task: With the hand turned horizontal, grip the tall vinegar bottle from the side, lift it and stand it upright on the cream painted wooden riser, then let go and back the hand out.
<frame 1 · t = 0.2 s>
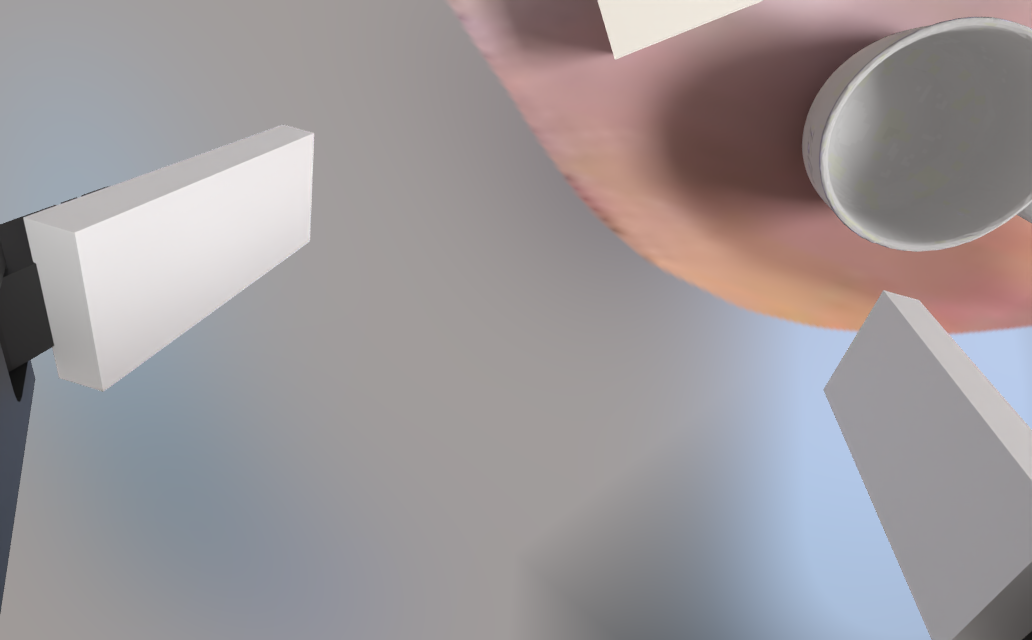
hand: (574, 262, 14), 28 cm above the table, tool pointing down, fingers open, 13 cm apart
teacup: (905, 136, 36), on the table
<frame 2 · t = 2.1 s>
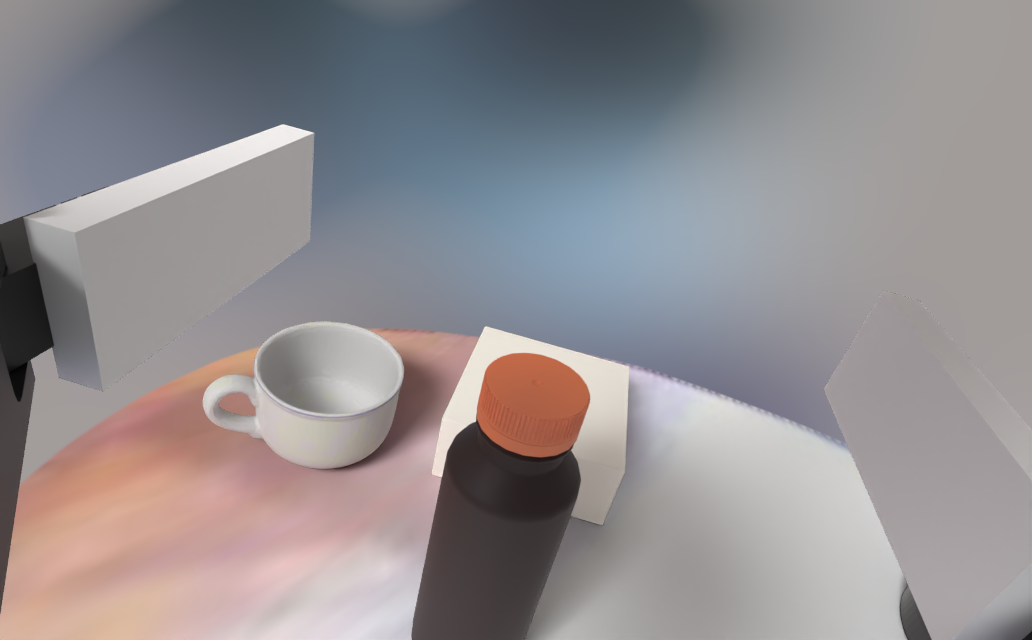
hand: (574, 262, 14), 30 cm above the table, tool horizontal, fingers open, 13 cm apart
teacup: (306, 443, 48), on the table
riser: (530, 441, 53), on the table
vinegar: (465, 638, 37), on the table
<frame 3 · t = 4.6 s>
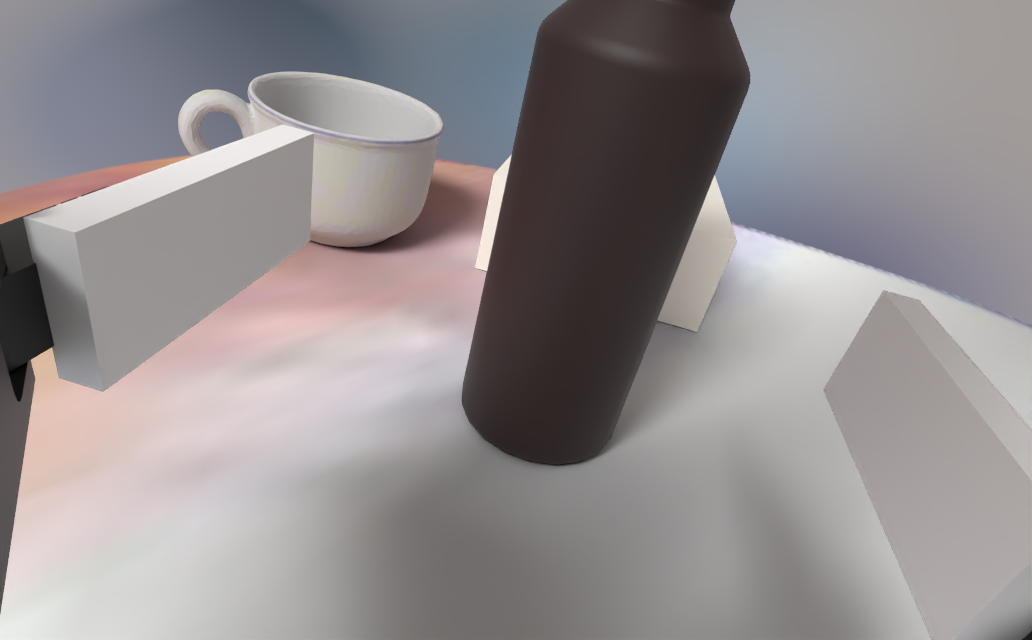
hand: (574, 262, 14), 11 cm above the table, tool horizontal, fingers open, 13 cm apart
teacup: (314, 228, 37), on the table
riser: (594, 256, 42), on the table
vinegar: (535, 415, 26), on the table
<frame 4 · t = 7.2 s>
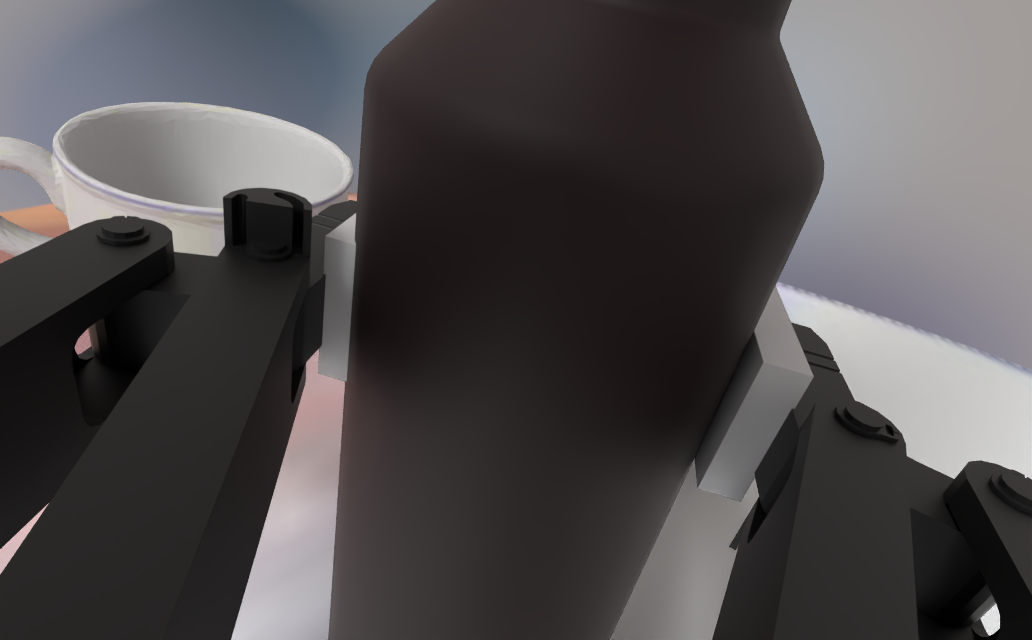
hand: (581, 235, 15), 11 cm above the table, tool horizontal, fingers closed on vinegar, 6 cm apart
teacup: (185, 313, 28), on the table
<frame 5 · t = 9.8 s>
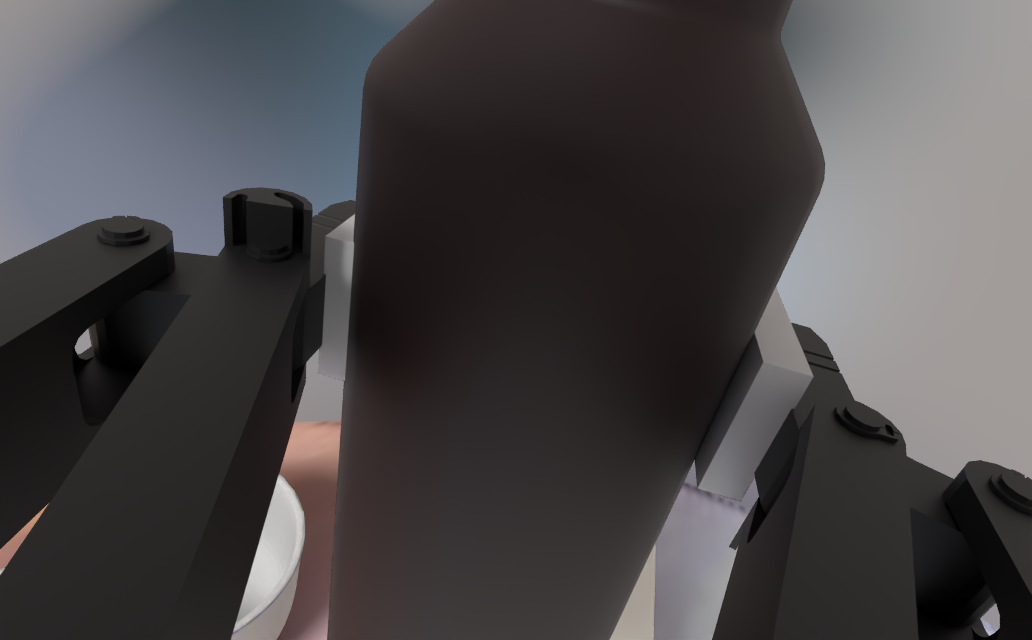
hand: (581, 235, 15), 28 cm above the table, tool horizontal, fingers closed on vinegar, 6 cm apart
teacup: (158, 639, 31), on the table
riser: (508, 622, 36), on the table
when the fingers open (18 cm above the table, at t = 12.7 s): vinegar drops 1 cm, resting on riser.
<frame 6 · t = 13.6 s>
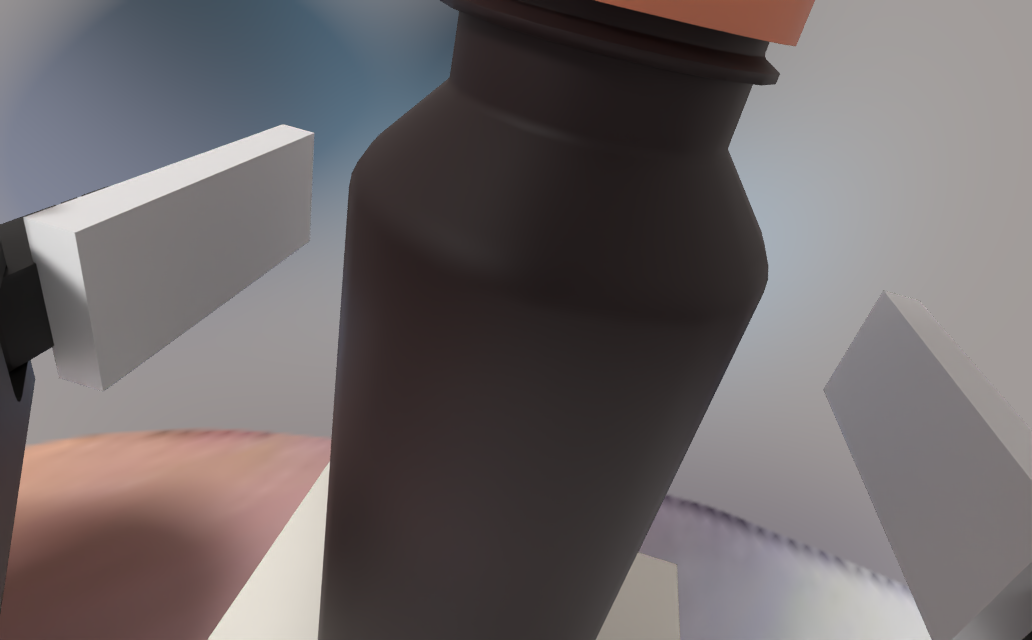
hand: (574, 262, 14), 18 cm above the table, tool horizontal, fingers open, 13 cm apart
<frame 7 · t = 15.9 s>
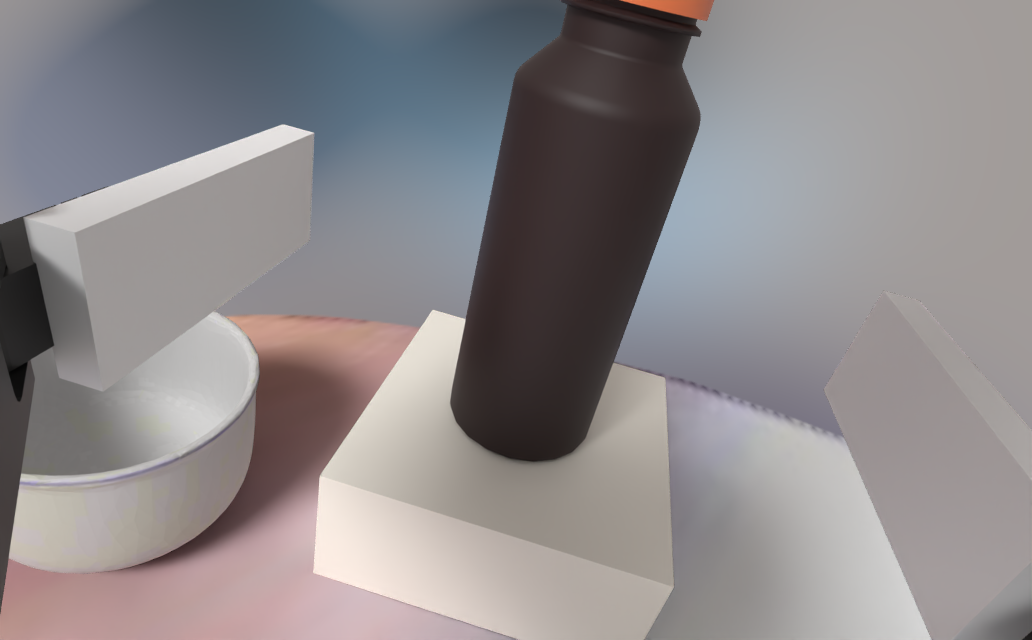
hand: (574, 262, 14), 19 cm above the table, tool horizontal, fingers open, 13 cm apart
teacup: (89, 512, 26), on the table
riser: (501, 502, 32), on the table
vinegar: (517, 417, 29), point 6 cm above the table, touching riser
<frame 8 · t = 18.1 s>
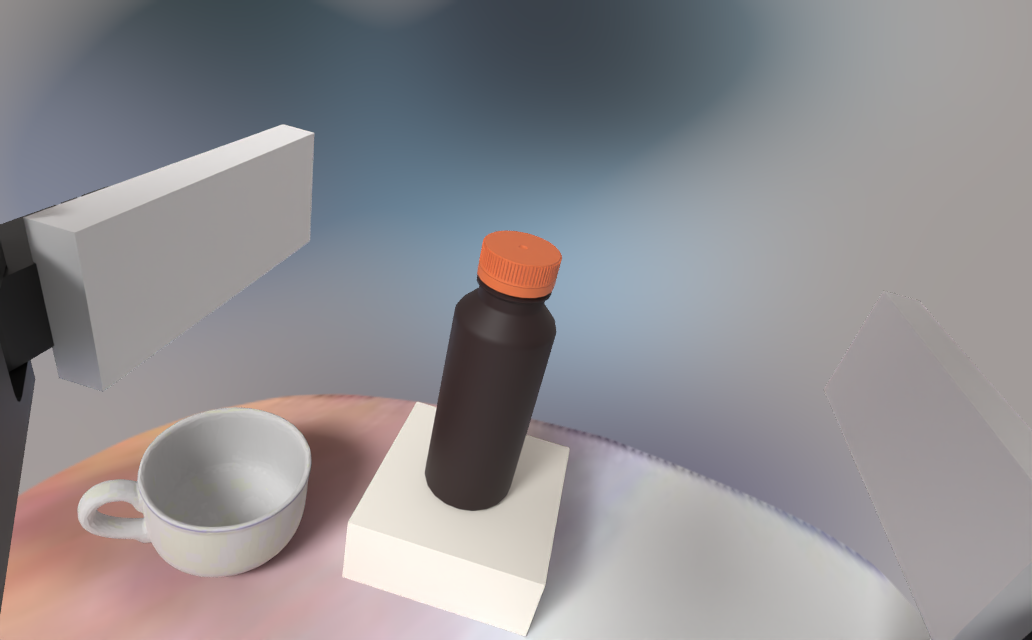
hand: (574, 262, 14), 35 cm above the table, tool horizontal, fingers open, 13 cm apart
teacup: (208, 540, 44), on the table
riser: (459, 531, 49), on the table
vinegar: (467, 480, 47), point 6 cm above the table, touching riser
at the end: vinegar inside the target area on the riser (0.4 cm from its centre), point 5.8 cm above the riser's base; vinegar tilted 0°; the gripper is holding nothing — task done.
